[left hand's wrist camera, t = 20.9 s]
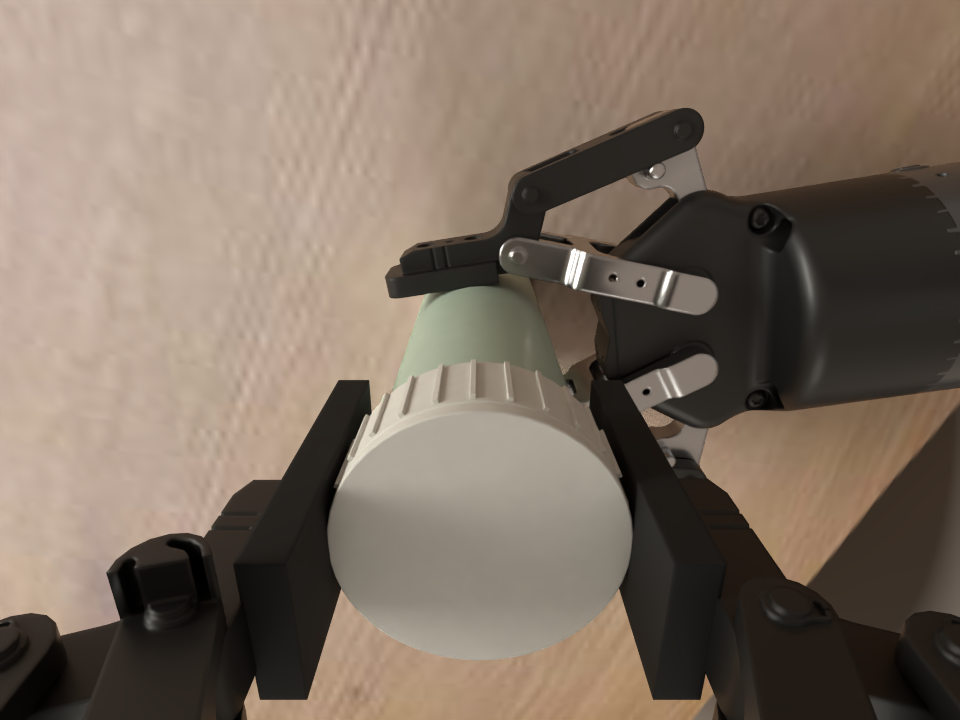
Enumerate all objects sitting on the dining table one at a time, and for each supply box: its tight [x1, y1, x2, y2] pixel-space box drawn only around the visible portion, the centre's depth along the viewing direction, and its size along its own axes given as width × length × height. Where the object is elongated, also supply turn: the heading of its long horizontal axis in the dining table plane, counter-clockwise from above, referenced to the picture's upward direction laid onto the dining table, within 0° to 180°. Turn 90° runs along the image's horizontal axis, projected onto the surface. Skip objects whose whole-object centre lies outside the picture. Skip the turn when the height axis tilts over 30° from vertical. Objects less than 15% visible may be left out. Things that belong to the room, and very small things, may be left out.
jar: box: [391, 273, 567, 393], centre depth 19 cm, size 5×5×16 cm
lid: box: [327, 359, 633, 660], centre depth 11 cm, size 6×6×2 cm
